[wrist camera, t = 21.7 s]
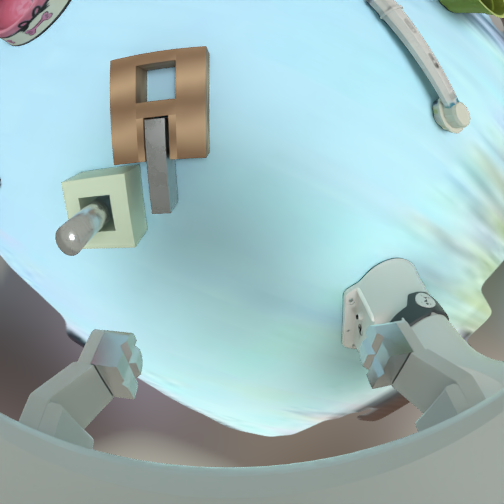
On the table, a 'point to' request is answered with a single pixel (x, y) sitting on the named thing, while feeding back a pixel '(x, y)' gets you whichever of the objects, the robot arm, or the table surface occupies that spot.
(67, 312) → the table surface
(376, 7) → the white elongated piece
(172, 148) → the socket block
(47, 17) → the dog bowl
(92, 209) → the peg
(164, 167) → the block
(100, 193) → the square hole block
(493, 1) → the plant pot
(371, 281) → the robot arm
